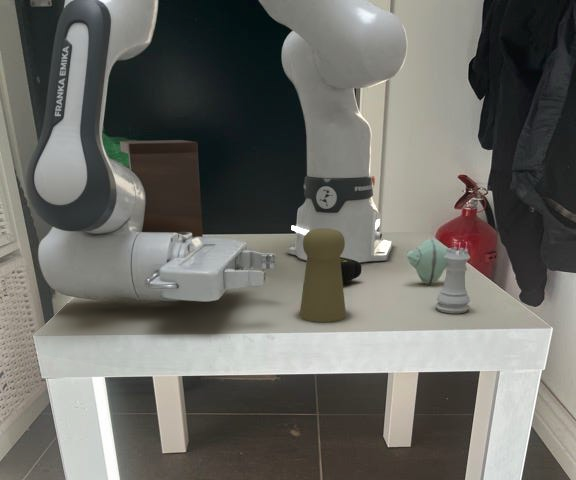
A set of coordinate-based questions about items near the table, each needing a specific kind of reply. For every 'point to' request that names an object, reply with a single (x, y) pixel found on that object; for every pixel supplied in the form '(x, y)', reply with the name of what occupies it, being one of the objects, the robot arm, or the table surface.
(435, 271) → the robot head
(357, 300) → the table surface
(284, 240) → the table surface
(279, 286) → the table surface
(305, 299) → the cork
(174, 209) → the shelf stand
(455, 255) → the rook chess piece
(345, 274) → the tape measure
